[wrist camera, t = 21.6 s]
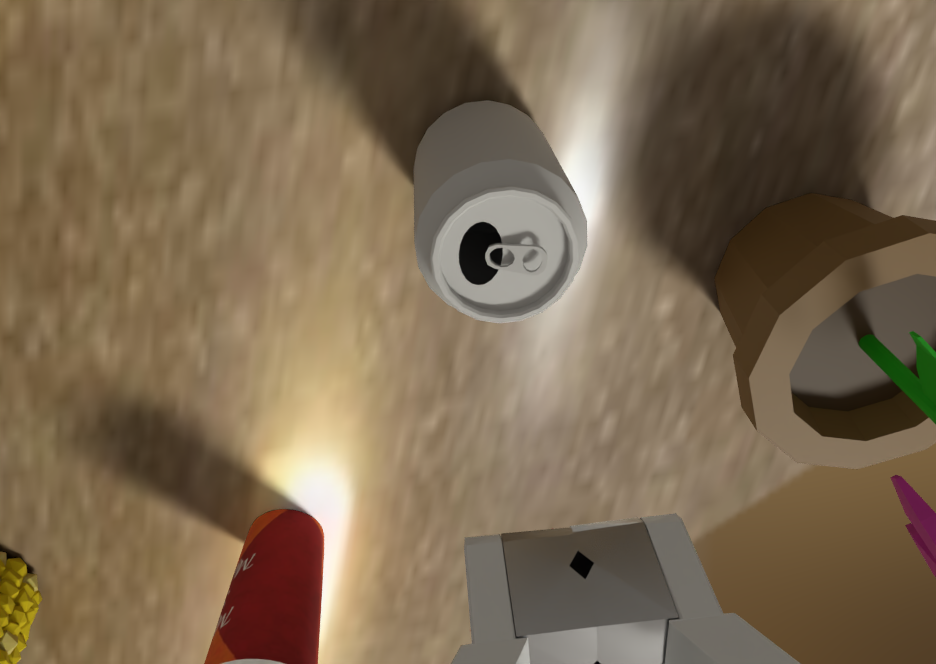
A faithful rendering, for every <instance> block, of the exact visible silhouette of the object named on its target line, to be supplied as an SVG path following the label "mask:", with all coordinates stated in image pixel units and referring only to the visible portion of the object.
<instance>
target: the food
mask: <svg viewBox="0 0 936 664" xmlns="http://www.w3.org/2000/svg"><path fill="white" fill-rule="evenodd" d="M41 601H42V597H41V594H40V592H39V591H38V582H37V574H30V573H27V566H26V564H25V563H24V562H23V560H22V559H21V558H12V559H8V560H7V557H6V553H5V552H0V664H16V663H17V662H18V661H19V660H20V659H21V655H20V652H21V651H22V650H23V649H24V648H25V647H26V646H27V645H26V641H27V640H28V638H29V637H28V635H29V631H30V625H31V624H32V622H33V620H34V618H35V614H36V613H37V612H38V608H39V607H38V604H39V603H40V602H41Z"/></svg>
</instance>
